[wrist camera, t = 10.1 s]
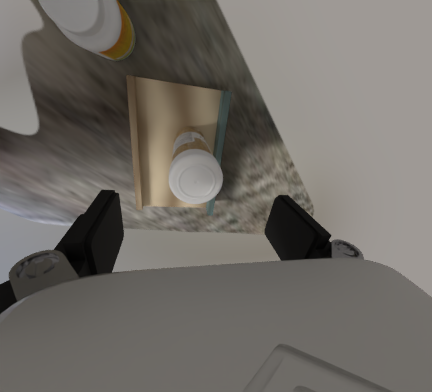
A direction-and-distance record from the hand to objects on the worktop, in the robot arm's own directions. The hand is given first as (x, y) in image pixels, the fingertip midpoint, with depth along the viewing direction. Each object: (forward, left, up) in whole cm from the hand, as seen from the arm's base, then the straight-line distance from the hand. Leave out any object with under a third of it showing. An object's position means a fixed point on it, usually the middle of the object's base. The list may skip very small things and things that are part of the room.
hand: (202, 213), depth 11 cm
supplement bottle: (-9, +11, -20) cm, 25 cm away
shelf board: (-1, -2, -20) cm, 20 cm away
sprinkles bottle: (0, 0, -18) cm, 18 cm away
